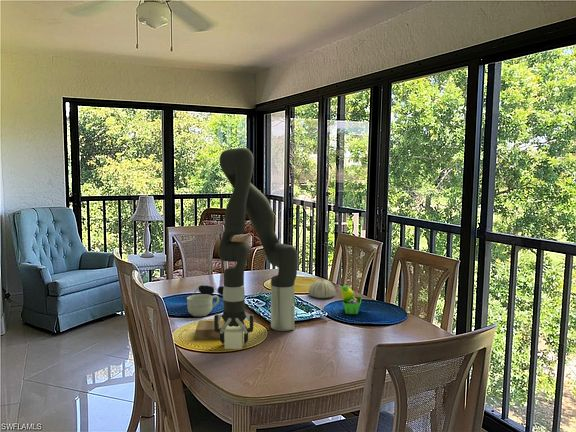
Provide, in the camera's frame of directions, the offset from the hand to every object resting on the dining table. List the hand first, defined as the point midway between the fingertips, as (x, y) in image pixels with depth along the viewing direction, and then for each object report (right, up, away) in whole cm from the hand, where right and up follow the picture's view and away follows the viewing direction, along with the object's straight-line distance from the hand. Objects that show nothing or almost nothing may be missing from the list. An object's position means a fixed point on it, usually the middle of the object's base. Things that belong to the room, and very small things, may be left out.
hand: (234, 342), depth 167 cm
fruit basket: (+47, +3, +41) cm, 62 cm away
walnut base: (-10, 0, +11) cm, 15 cm away
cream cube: (0, -1, 0) cm, 1 cm away
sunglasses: (-17, +5, +59) cm, 62 cm away
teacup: (-17, +3, +35) cm, 39 cm away
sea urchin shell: (+36, +5, +65) cm, 74 cm away
